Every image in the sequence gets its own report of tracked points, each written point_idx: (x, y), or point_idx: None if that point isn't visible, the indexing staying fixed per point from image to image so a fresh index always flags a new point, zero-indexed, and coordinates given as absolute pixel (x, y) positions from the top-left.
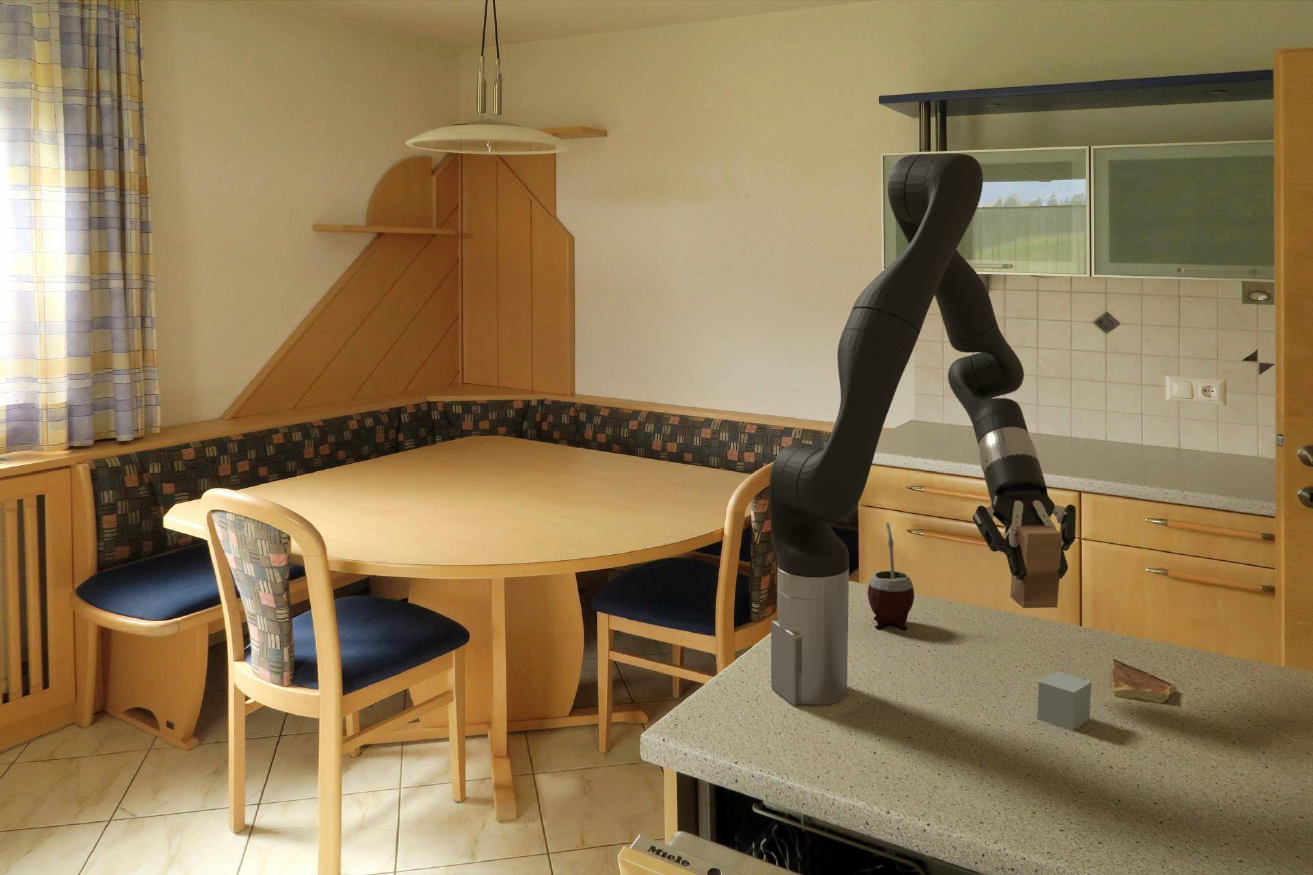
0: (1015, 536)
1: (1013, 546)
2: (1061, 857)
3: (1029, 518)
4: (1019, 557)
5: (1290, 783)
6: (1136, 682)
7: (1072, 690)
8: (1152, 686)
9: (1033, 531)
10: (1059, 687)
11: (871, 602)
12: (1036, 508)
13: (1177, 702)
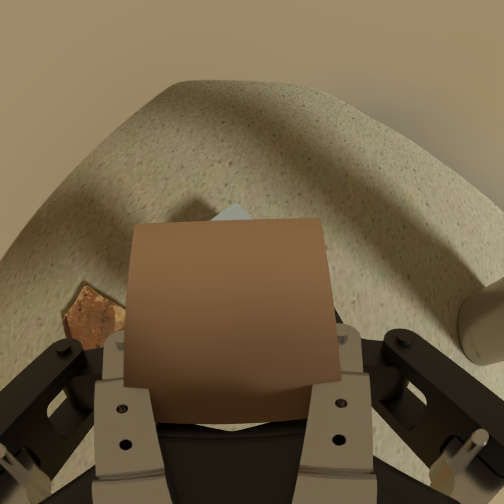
0: None
1: (339, 324)
2: (310, 90)
3: (229, 468)
4: None
5: (105, 145)
6: (99, 324)
7: (235, 207)
8: (88, 308)
9: (277, 257)
10: (249, 216)
11: None
12: (162, 495)
13: (79, 290)
